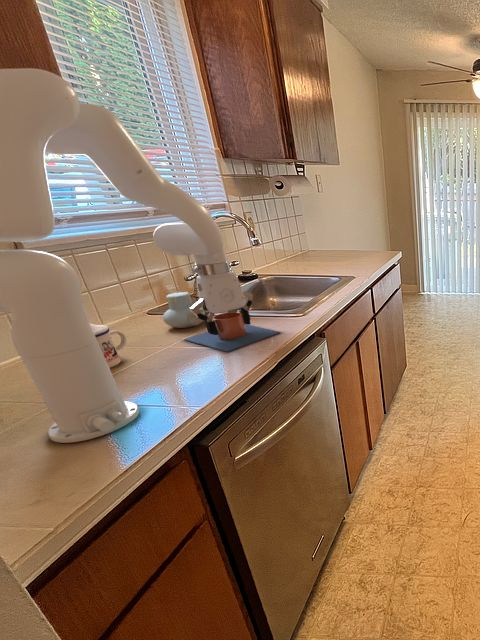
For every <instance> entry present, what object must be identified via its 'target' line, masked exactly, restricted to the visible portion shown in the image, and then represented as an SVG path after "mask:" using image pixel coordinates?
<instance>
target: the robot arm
mask: <svg viewBox="0 0 480 640" xmlns="http://www.w3.org/2000/svg"><path fill="white" fill-rule="evenodd" d="M45 153H49V154H53V155H59V156H86V157H87V158H89V159H90V160H91V162H92V163H93V164H94V165H95V166H96V167H97V168H98V170H99V171H100V172H101V173H102V174H103V175H104V177H105V178H106V179H107V180H108V182H110V184H111V185H112V186H113V187H114V188H115V189H116V191H117V193H119V194H120V195H121V196H122V197H124V198H126V199H128V200H130V201H132V202H135V203H138V204H140V205H143V206H146V207H149V208H152V209H154V210H155V209H156V210H159V211H162V212H164V213H167V214H169V215H171V216H173V217H175V218H176V219H178V220H180V221H181V222H168V223H164V224H161V225H159V226H157V227H156V228H155V230H154V231H153V234H152V240H153V243H154V246H156V248H157V249H158V250H160V251H161V252H162V253H164V254H167V255H171V256H192V258H193V262H194V267H193V268H191V273H192V274H196V275H198V276H196V287H197V289H196V290H197V294H198V298H199V299H198V301H196V302H195V303H193V306H192V307H191V308H190V309H189V310H190V311H191V312H192V313H193V314H194V315H195V316H196V317H197V318H199V319H201V320H202V322H204V324H205V328H206V332H209V333H210V334H212V335H218V331H217V327H216V324H215V322H214V321H213V317H214V316H215V315H218V314H221V313H227V311H230V310H234V309H237V310H238V309H239V310H238V312H241V313H242V316H243V319H244V323H245V324H246V325H252V323H251V316H250V313H249V311H250V310H251V306H252V304H253V297H254V294H253V293H251V292H247V291H243V288H242V286H241V282H240V280H239V279H238V277H237V275H236V273H235V272H234V271H231V268H230V264H229V260H228V256H227V253H226V249H225V246H224V245H225V239H224V236H223V233H222V230H221V228H220V227H219V225H218V223H217V222H216V220H215V219H214V218H213V216H212V215H211V213H210V212H209V210H208V209H207V208H206V207H205V206H204V205H203V203H201V202H200V201H199V200H197V199H196V198H195V197H194V196H191V194H189V193H187V192H186V191H185V190H183V189H182V188H180V187H179V186H176V185H175V184H173V183H171V182H170V181H168V180H166V179H165V178H164V177H162V175H160V173H159V172H158V170H157V169H156V167H155V166H154V165H153V163H152V162H151V161H150V159H149V158H148V157H147V155H146V154H145V153H144V151H143V150H142V148H141V147H140V145H139V144H138V143H137V142H136V139H134V138H133V136H132V135H131V134H130V132H129V131H128V130H127V128H126V127H125V126H124V124H123V123H122V121H121V120H120V119H119V118H118V116H117V115H115V114H114V112H112V111H111V110H109V109H108V108H106V107H104V106H101V105H98V104H93V103H83V102H81V103H80V99H79V96H78V93H77V92H76V90H75V89H74V87H73V86H72V84H70V83H69V82H68V81H67V80H65V78H63V77H61V76H60V75H58V74H56V73H54V72H51V71H48V70H45V69H41V68H32V67H28V68H27V67H26V68H25V67H24V68H23V67H22V68H0V243H3V242H4V243H5V242H6V243H7V242H9V243H10V242H33V241H38V240H43V239H46V238H47V237H49V236H51V235H52V233H53V232H54V230H55V225H56V224H55V220H56V219H55V213H54V212H55V211H54V206H53V202H52V196H51V195H52V194H51V191H50V185H49V180H48V174H47V167H46V159H45ZM83 299H84V298H83V293H82V286H81V282H80V279H79V276H78V274H77V272H76V271H75V269H74V268H73V267H72V266H71V265H70V264H69V263H68V262H67V261H65V260H64V259H63V258H61V257H59V256H57V255H55V254H51V253H49V252H45V251H39V250H33V249H0V312H8V313H11V316H12V320H11V329H10V331H11V332H10V334H11V340H12V343H13V346H14V348H15V350H16V352H17V353H18V356H19V357H20V358H21V360H22V363H23V364H24V366H25V368H26V370H27V372H28V373H29V375H30V377H31V379H32V380H33V383H34V385H35V386H36V388H37V390H38V392H39V394H40V396H41V398H42V400H43V401H44V403H45V405H46V407H47V409H48V410H49V412H50V414H51V416H52V418H53V420H54V423H53V424H52V425H51V426H50V427H49V428H48V430H47V435H48V437H49V439H50V440H51V441H52V442H55V443H59V444H60V443H61V444H71V443H78V442H84V441H85V442H86V441H88V440H93V439H97V438H99V437H103V436H105V435H108V434H110V433H114V432H115V431H117V430H120V429H121V428H123V427H125V426H127V425H129V424H130V423H132V422H133V421H134V420H135V419H136V418H137V417H138V416H139V414H140V408H139V406H138V404H136V403H135V402H132V401H127V400H124V397H123V396H122V393H121V391H120V388H119V386H118V384H117V381H116V379H115V377H114V375H113V372H112V371H111V368H109V366H108V364H107V361H106V359H105V357H104V355H103V352H102V350H101V348H100V346H99V343H98V341H97V339H96V337H95V334H94V332H93V330H92V328H91V325H90V324H91V323H90V320H89V318H88V315H87V311H86V308H85V305H84V300H83ZM200 308H202V309H203V310H204V314H201V313H200V312H199V309H200Z"/></svg>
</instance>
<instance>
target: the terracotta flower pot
mask: <svg viewBox="0 0 480 640" xmlns="http://www.w3.org/2000/svg"><path fill="white" fill-rule="evenodd" d="M212 321H214V322H215V324H216V327H217V331H218V337H219V338H220V339H224V340H228V339H235V338H239V337H242V336H244V335H245V334H246V332H247V331H246V327H245V323H244V319H243V316H242V313H241V312H239V311H237V312H227V311H226V312H223V313H218V314H215V315H214V317H213V319H212Z"/></svg>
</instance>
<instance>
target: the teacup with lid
mask: <svg viewBox="0 0 480 640" xmlns="http://www.w3.org/2000/svg"><path fill="white" fill-rule="evenodd" d="M90 325H91V328H92V330H93V332H94V334H95V337H96V339H97V341H98V343H99V346H100V348H101V350H102V352H103V355H104V357H105V359H106V361H107V364H108V366H109V368H110V369H111V368H114V367H115V366H118V365H119V364H120V363H121V361H122V359H121V356H120V354H119V352H118V351H120V350H122V349H123V348H124V347H125V346H126V343H127V337H126V335H125V333H124V332H122V331H121V330H110V328H109V327H108V326H107V325H103V324H93V323H90ZM116 334H117V335H119V336H120V343H119V344H118V345H117V346H116V345H115V342H114V340H113V337H112V335H116Z"/></svg>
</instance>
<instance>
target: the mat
mask: <svg viewBox="0 0 480 640" xmlns="http://www.w3.org/2000/svg"><path fill="white" fill-rule="evenodd" d="M245 327H246V331H247V332H246V334H245V335H244V336H242V337H239V338H235V339H228V340H224V339H220V338H219V337H218V335H212V334H210V333H209V332H208V331H206V332H202V333H200V334H195V335H193V336H190V337H186V338H184V339H183V340H184V341H185V342H189V343H192V344H196V345H200V346H202V347H207V348H210V349H213V350H214V349H215V350H217V351H220V352H224V353H231V352H234V351H236V350H238V349H241V348H243V347H246V346H249V345H253V344H254V343H257V342H260V341H263V340H266V339H269V338H271V337H274V336H276V335H279V334H281V331H277V330H273V329H269V328H263V327H259V326H255V325H252V324H250V325H247V324H245Z"/></svg>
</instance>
